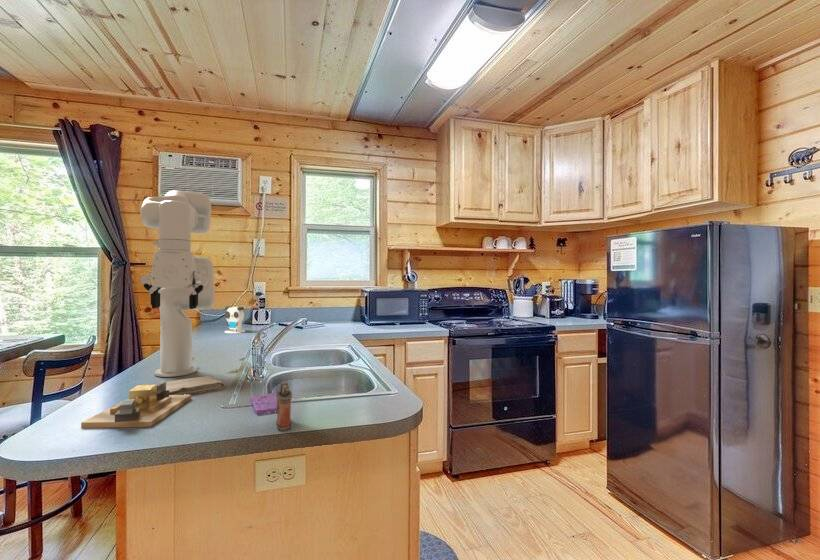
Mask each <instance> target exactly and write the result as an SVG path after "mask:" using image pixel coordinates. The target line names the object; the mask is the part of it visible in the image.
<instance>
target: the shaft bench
mask: <svg viewBox="0 0 820 560" xmlns="http://www.w3.org/2000/svg"><path fill="white" fill-rule="evenodd" d="M166 382H167V381H156V382H155V383H153V384H151V385H154V384H157V403H156V404H154V405H153V406H151V407H149V408H148V410H140V408H138V409H135V399H130V400H129V397H128V398H127V399H124V400H122V401H121V402H119V403H117V404H114V405H113V406H111V407H108V408H107V409H106V410H103V411H101V412H100V413H98V414H96V415H94V416H90V418H87V419H86V420H83V421H82V422H81V423H80V428H81V429H87V428H88V429H90V428H93V429H95V428H101V429H102V428H146V427H148V428H149V427H151V428H152V427H153V426H155V424H158V422H160V421H161V420H163V419H164V418H166V417H168V415H170V414H172V413H174V412H175V411H176V410H177V409H179V408H180V407H181V406H183V405H184V403H185V404H186V403H187V402H189V401H190V400H191V399H192V394H190V395H169V390H166Z"/></svg>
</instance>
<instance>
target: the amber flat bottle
mask: <svg viewBox="0 0 820 560" xmlns="http://www.w3.org/2000/svg"><path fill="white" fill-rule="evenodd" d="M288 382H289V381H288ZM288 382H287V381H281V382H280V389H278V390H277V391H276V394H277V404H276V409H277V412H276V417H277V418H276V422H275V428H276V429H277V431H278V432H279V431H280V433H285V432H289V431H291V429H292V419H291V411H292V410H291V409H292V407H291V404H292V403H291V401H292V399H293V398H292V397H293V396H292V395H293V394H292V392H291V390H290V386H289V383H288ZM288 430H289V431H288Z"/></svg>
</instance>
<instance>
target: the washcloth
mask: <svg viewBox="0 0 820 560" xmlns="http://www.w3.org/2000/svg"><path fill="white" fill-rule="evenodd" d="M165 382H166V390H169V395H184V394H186V395H187V394H190V395H193V394H192V393H196V394H201V393H206V391H207V392H211V390H213V391H216V390H221V389H223V388H224V387H225V386H226V384H225V382H223V381H221V380H219V379H216V378H215V377H213V376H211V375H205V376H198V377H190V378H188V377H187V378H182V379H176V380H169V381H165Z"/></svg>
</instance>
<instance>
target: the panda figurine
mask: <svg viewBox="0 0 820 560" xmlns="http://www.w3.org/2000/svg"><path fill="white" fill-rule="evenodd" d="M244 310H245V307H244V306H231V305H230V306H229V305H228V306H225V308H224V311H225V312H224V313H225V314H224V318H225V320H226V321H227V323H226V325H227V326H228V330H224V333H225V334H242V333H241V332H243V333H245V332H246V330H244V329H243V325H242V323H243V321H244V318H245V313H244Z"/></svg>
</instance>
